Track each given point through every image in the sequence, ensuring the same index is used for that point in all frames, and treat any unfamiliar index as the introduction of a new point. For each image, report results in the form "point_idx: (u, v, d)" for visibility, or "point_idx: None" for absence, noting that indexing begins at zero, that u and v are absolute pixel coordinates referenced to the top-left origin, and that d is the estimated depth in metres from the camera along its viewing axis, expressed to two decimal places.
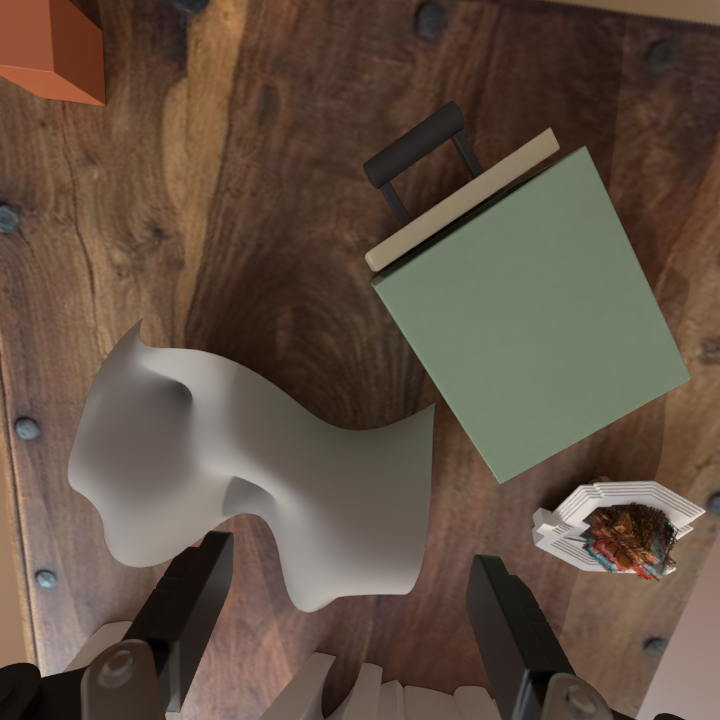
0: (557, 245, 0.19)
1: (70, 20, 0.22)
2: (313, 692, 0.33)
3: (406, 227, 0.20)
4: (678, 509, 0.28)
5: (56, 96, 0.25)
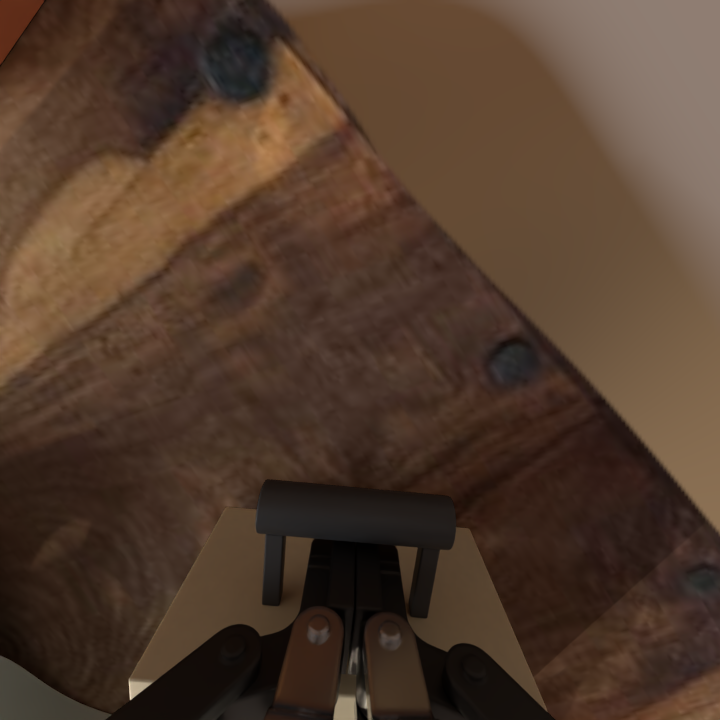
0: None
1: None
2: None
3: None
4: None
5: None
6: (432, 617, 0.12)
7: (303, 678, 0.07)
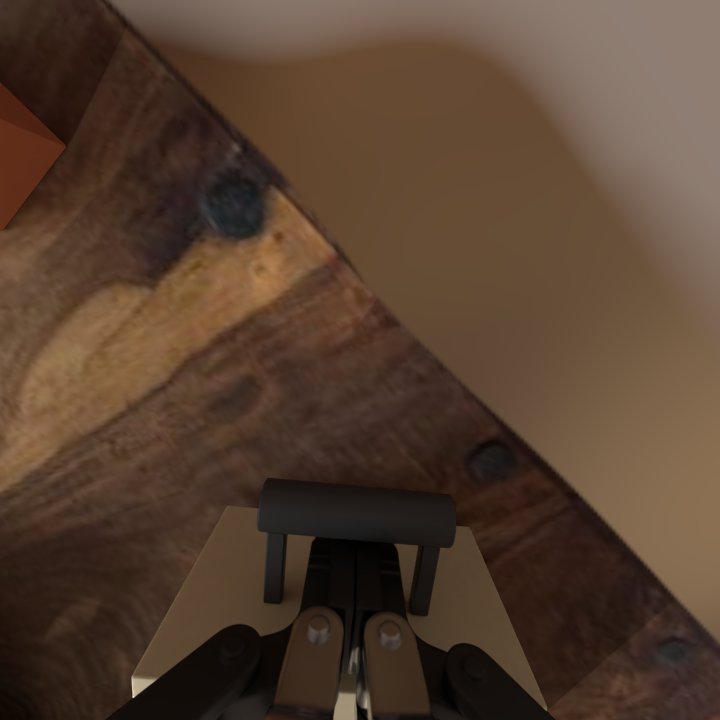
0: None
1: None
2: None
3: None
4: None
5: None
6: (432, 614, 0.12)
7: (303, 678, 0.07)
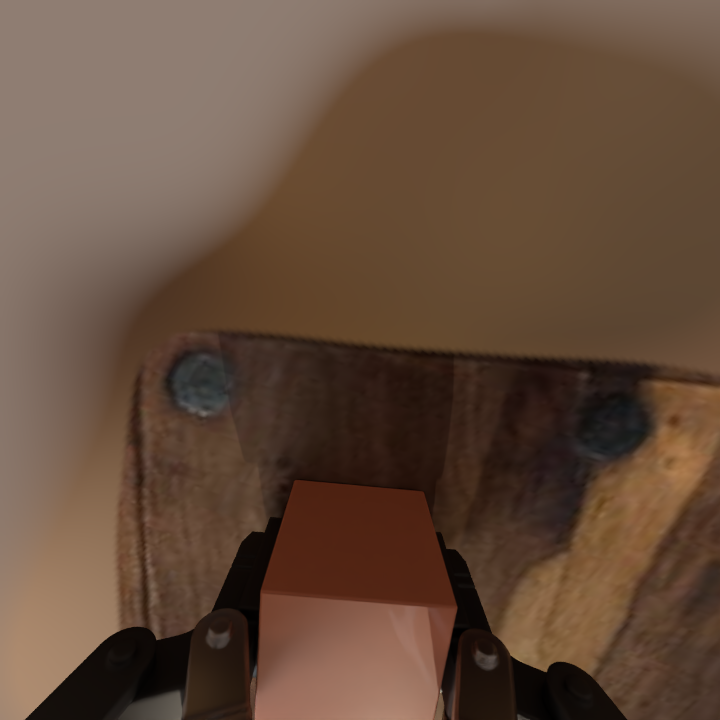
0: None
1: None
2: None
3: None
4: None
5: None
6: None
7: (212, 685, 0.07)
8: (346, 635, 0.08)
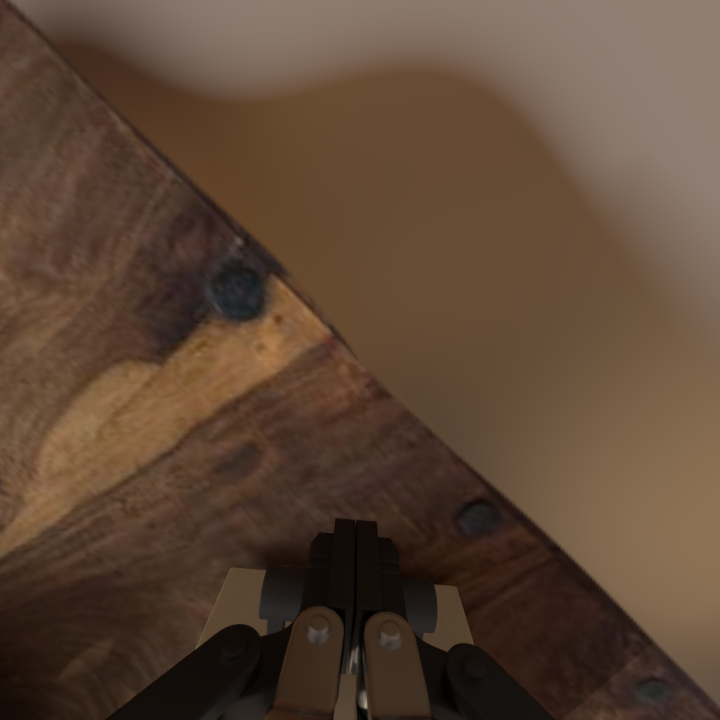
0: None
1: None
2: None
3: None
4: None
5: None
6: None
7: (303, 678, 0.07)
8: None
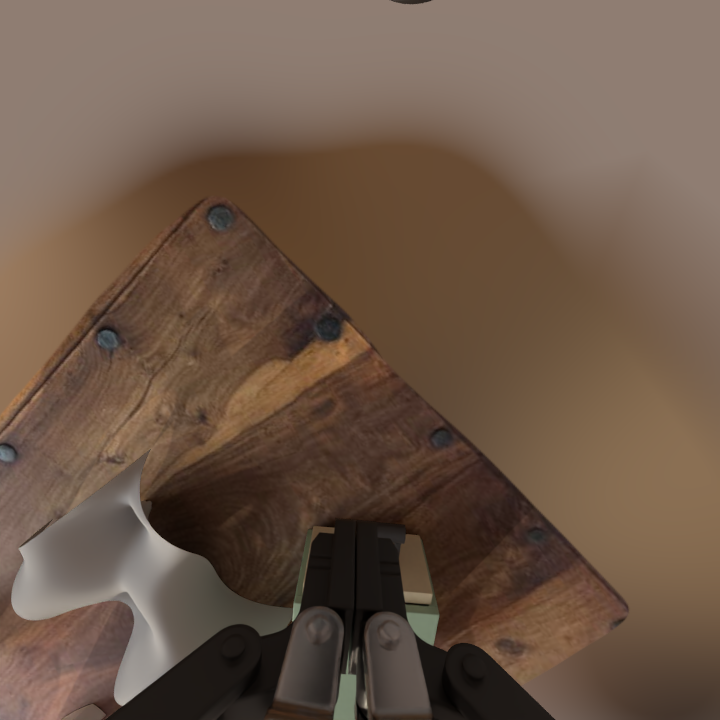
0: None
1: None
2: None
3: None
4: None
5: None
6: None
7: (303, 678, 0.07)
8: None
